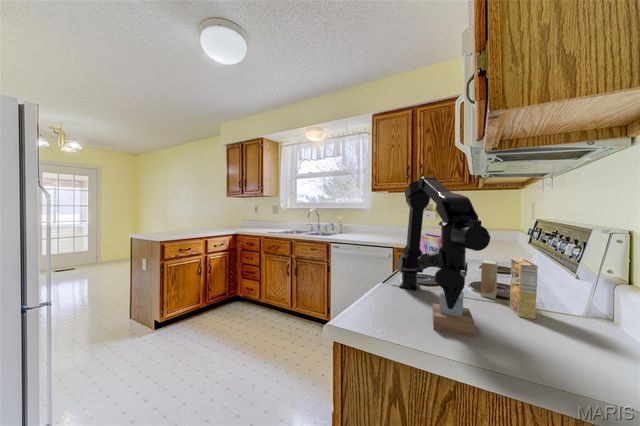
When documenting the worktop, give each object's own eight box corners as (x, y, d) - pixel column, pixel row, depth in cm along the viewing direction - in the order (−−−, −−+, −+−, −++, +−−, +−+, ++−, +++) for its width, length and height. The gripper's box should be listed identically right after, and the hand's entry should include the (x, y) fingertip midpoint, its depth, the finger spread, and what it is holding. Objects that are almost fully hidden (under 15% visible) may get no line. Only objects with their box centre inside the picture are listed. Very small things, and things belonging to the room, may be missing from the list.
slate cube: (442, 306, 70) (442, 288, 70) (463, 310, 67) (463, 292, 67) (439, 312, 66) (440, 293, 66) (461, 317, 63) (462, 297, 63)
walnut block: (432, 316, 72) (432, 303, 72) (468, 322, 69) (468, 308, 69) (433, 331, 64) (433, 315, 64) (474, 338, 60) (474, 322, 60)
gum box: (416, 253, 172) (416, 233, 171) (426, 253, 173) (426, 233, 173) (438, 260, 148) (439, 237, 148) (450, 260, 149) (450, 237, 149)
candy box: (508, 306, 80) (510, 258, 79) (525, 308, 78) (526, 259, 78) (518, 317, 72) (519, 264, 71) (537, 319, 70) (538, 265, 70)
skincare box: (482, 291, 93) (483, 259, 93) (496, 294, 90) (497, 260, 90) (480, 296, 88) (481, 262, 88) (495, 299, 85) (496, 263, 85)
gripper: (426, 238, 78) (425, 287, 78) (413, 246, 62) (412, 307, 63) (468, 241, 72) (466, 294, 72) (464, 250, 56) (463, 318, 57)
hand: (452, 302), depth 66 cm, fingers open, 9 cm apart
